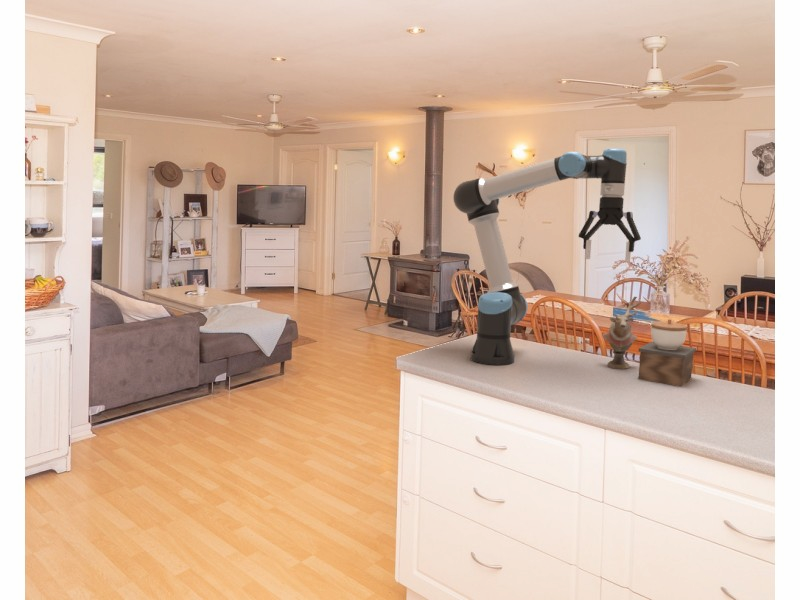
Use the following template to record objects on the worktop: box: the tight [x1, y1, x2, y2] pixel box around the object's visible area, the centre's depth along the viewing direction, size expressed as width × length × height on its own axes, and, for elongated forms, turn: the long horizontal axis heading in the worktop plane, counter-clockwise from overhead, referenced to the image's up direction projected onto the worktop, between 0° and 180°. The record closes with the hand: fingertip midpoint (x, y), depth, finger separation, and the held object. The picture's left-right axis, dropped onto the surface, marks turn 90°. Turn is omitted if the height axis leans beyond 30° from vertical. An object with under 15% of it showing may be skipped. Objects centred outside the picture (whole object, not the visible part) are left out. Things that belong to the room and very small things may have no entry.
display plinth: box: [637, 341, 697, 387], centre depth 205 cm, size 14×14×10 cm
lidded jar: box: [650, 318, 688, 350], centre depth 203 cm, size 11×11×9 cm
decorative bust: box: [601, 296, 642, 370], centre depth 217 cm, size 11×13×25 cm
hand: (607, 260), depth 214 cm, fingers open, 13 cm apart
